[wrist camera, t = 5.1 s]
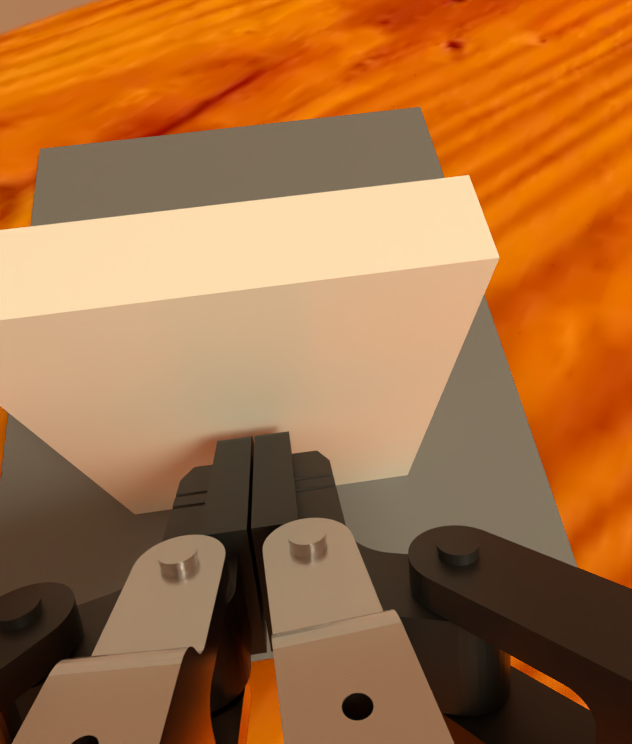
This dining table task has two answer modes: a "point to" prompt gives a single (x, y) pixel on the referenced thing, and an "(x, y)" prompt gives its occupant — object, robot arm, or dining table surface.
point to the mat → (358, 500)
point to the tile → (242, 330)
